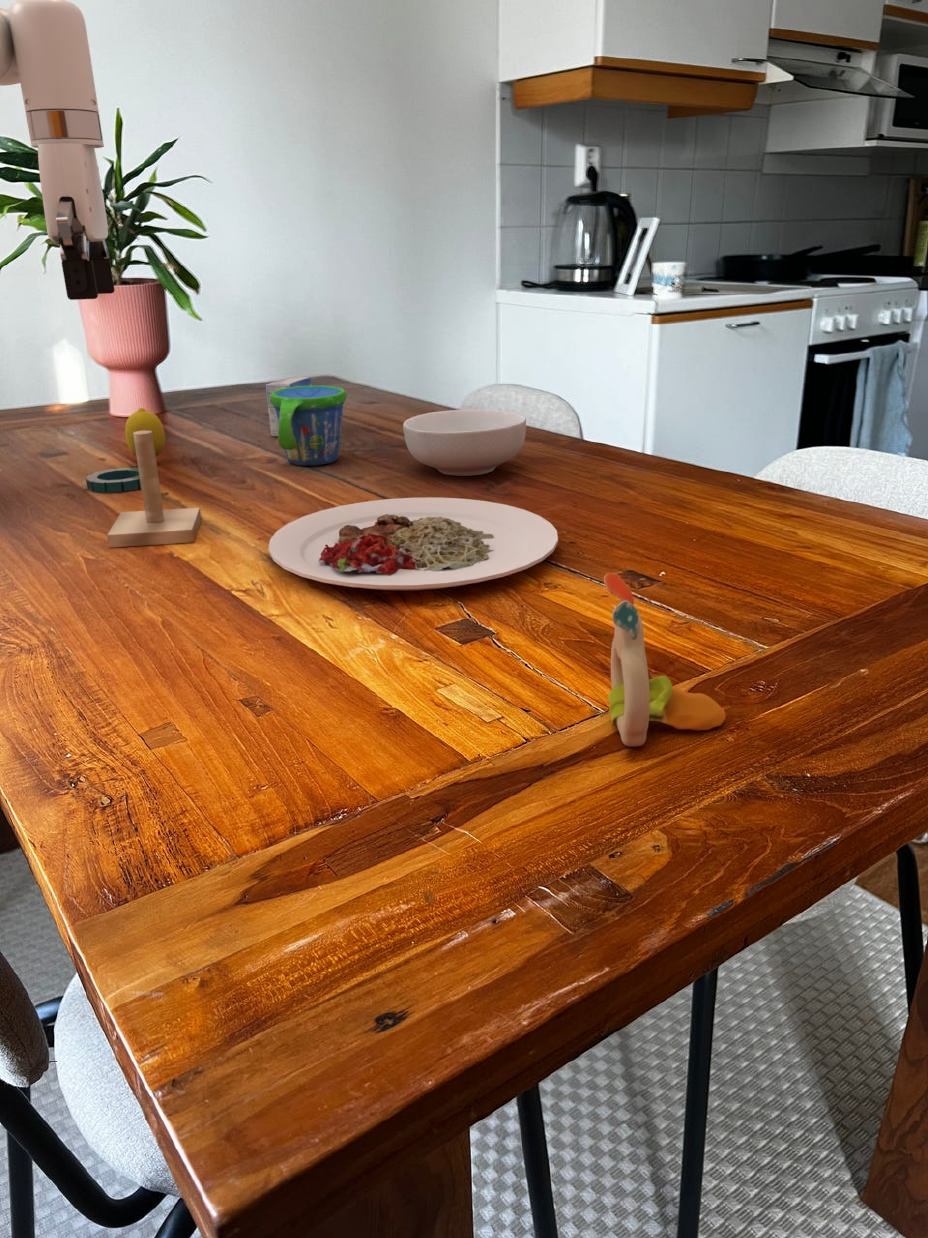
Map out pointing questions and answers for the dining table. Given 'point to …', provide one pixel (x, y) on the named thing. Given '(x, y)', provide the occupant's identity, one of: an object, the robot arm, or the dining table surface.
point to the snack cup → (309, 423)
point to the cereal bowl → (465, 439)
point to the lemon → (145, 429)
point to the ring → (114, 480)
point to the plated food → (413, 543)
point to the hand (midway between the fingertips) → (92, 296)
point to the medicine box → (276, 386)
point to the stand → (152, 508)
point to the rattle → (647, 681)
